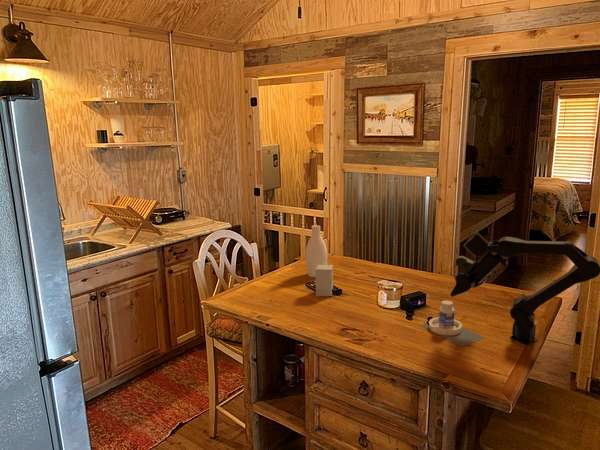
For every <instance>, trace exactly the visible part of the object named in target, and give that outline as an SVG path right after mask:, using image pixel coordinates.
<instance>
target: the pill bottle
mask: <svg viewBox="0 0 600 450" xmlns="http://www.w3.org/2000/svg"><path fill="white" fill-rule="evenodd" d="M438 311H439V312H438V317H439V327H440V328H442V329H453V328H454V319H455V311H456V310H455V308H454V303H453V301H451V300H442V301H441V305H440V307H439V310H438Z"/></svg>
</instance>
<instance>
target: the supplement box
mask: <svg viewBox="0 0 600 450" xmlns="http://www.w3.org/2000/svg"><path fill="white" fill-rule="evenodd" d="M333 268H334V265H333V264H327V265H317V267H316V278H315V297H329V296H331V297H333V296H332V295H333V292H332V289H333V290H334V269H333Z"/></svg>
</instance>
